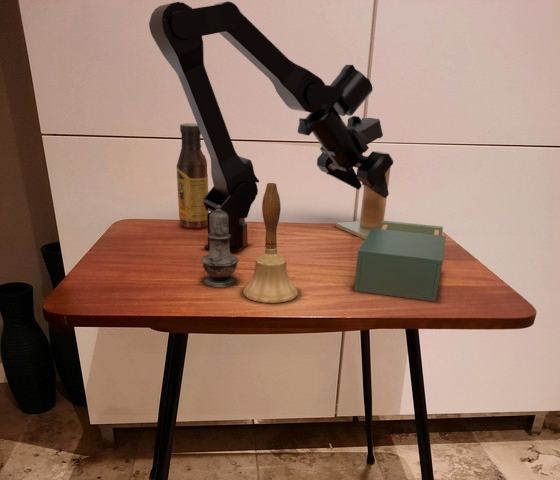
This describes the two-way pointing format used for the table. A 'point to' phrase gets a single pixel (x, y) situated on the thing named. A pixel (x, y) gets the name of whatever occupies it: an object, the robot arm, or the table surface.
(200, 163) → the sauce bottle
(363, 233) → the tile
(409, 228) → the drawer
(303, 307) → the table surface
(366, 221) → the pepper mill
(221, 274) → the salt shaker
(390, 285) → the cabinet
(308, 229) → the table surface
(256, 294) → the hand bell
